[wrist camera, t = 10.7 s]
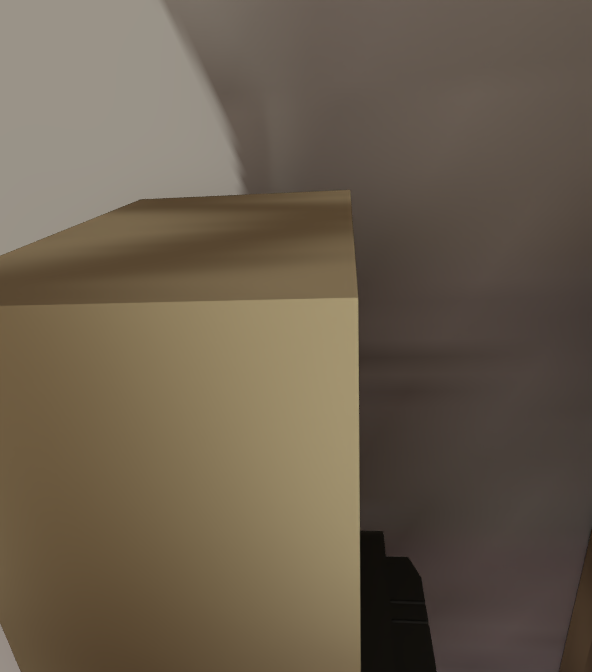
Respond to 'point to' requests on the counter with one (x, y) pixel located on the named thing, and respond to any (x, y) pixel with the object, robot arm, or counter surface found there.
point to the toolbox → (580, 624)
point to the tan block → (183, 439)
